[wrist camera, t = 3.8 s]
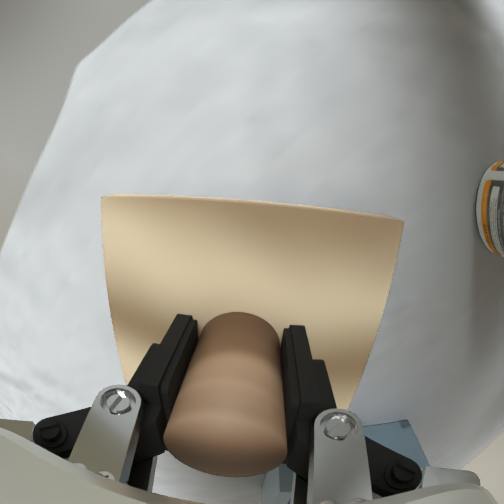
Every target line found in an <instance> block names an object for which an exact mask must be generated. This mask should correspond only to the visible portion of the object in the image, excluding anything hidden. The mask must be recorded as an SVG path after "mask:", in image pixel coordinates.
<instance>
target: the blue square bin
mask: <svg viewBox="0 0 504 504" xmlns="http://www.w3.org/2000/svg"><path fill="white" fill-rule="evenodd" d="M363 431H364V436H366V437H368V438H370V439H372V440H373V441H375V442H377V443H379V444H381V445H383V446H385V447H387V448H389V449H391V450H393V451H395V452H397V453H399V454H401V455H403V456H405V457H408V458H410V459H412V460H413V461H415V462H416V463H417V464H418V465H419V467H420V468H424V467H425V466H430V465H429V463H428V461H427V459H426V456H425V454H424V452H423V450H422V448H421V446H420V444H419V442H418V440H417V438H416V436H415V434H414V432H413V430H412V428H411V426H410V424H409V422H408V420H404V421H398V422H392V423H386V424H380V425H372V426H365V427H363ZM293 473H294V472H293V471H292V470H291V469H289V468H288V467H287V466H286V464H280V465H279V466H278V467H276V468H275V469H273V470H271V471H269V472H266V475H265V478H264V482H263V485H262V496H261V504H290V502H291V493H292V483H293Z"/></svg>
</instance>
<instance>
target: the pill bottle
mask: <svg viewBox="0 0 504 504" xmlns="http://www.w3.org/2000/svg"><path fill="white" fill-rule="evenodd" d="M476 216H477V223H478V229H479V233H480V236H481V238H482V240H483V242H484V244H485V245H486V247H487V248H488V249H489V250H490V251H491V252H493V253H494V254H496V255H498V256H501V257H503V258H504V161H499V162H496V163H494V164H493V165H491V166H490V167H489V168H488V169H487V170H486V172H485V173H484V175H483V177H482V180H481V182H480V186H479V189H478V195H477V203H476Z"/></svg>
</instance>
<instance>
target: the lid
mask: <svg viewBox="0 0 504 504" xmlns="http://www.w3.org/2000/svg"><path fill="white" fill-rule="evenodd" d="M101 214H102V238H103V253H104V265H105V275H106V283H107V291H108V299H109V306H110V312H111V318H112V324H113V330H114V335H115V340H116V345H117V350H118V354H119V359H120V363H121V367H122V371H123V375H124V379H125V383H126V386H127V385H128V383H129V382H130V380H131V378H132V376H133V375H134V373H135V371H136V370H137V368H138V366H139V365H140V363H141V361H142V359H143V358H144V356H145V354H146V353H147V351H148V349H149V348H150V346H151V345H152V344H153V343H157V344H160V343H161V341H162V340H163V338H164V336H165V334H166V332H167V331H168V329H169V327H170V325H171V324H172V322H173V320H174V318H175V317H176V315H177V314H185V315H192V316H193V319H195V320H197V322H198V342H197V344H196V347H195V350H194V352H193V355H192V358H191V360H190V363H189V366H188V369H187V371H186V374H185V377H184V379H183V382H182V385H181V388H180V390H179V393H178V396H177V399H176V402H175V404H174V407H173V410H172V413H171V415H170V418H169V421H168V424H167V427H166V430H165V432H164V437H163V439H164V444H165V446H166V448H167V449H168V451H169V452H170V453H171V454H172V455H173V456H174V457H175V458H176V459H178V460H179V461H181V462H182V463H184V464H185V465H187V466H189V467H191V468H194V469H196V470H199V471H202V472H205V473H209V474H213V475H218V476H226V477H248V476H255V475H259V474H263V473H266V472H269V471H271V470H273V469H275V468H276V467H278V466H279V465H280V464H282V463H283V461H284V460H285V458H286V456H287V438H286V424H285V407H284V392H283V377H282V363H281V350H280V348H281V342H282V336H283V330H284V328H289V326H290V325H304V326H305V328H306V333H307V337H308V341H309V346H310V350H311V354H312V359H323V360H324V362H325V365H326V369H327V372H328V376H329V380H330V383H331V387H332V391H333V395H334V398H335V402H336V406H337V408H338V409H345V410H348V408H349V405H350V403H351V401H352V398H353V396H354V394H355V391H356V389H357V387H358V384H359V382H360V379H361V377H362V374H363V371H364V369H365V366H366V364H367V361H368V358H369V355H370V352H371V350H372V347H373V344H374V341H375V338H376V335H377V332H378V328H379V325H380V322H381V319H382V315H383V312H384V308H385V305H386V301H387V298H388V294H389V290H390V286H391V282H392V278H393V274H394V270H395V265H396V261H397V256H398V251H399V246H400V241H401V235H402V230H403V224H404V222H403V221H401V220H398V219H396V218H393V217H391V216H385V215H379V214H372V213H365V212H357V211H350V210H342V209H334V208H326V207H317V206H308V205H299V204H289V203H279V202H268V201H256V200H243V199H230V198H215V197H197V196H176V195H148V194H114V195H109V196H104V197H101Z"/></svg>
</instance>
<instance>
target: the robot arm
mask: <svg viewBox="0 0 504 504" xmlns="http://www.w3.org/2000/svg"><path fill="white" fill-rule="evenodd" d="M197 342H198V322H197V320H195V319H193V316H192V315H185V314H177V315H176V317H175V318H174V320H173V322H172V324H171V325H170V327H169V329H168V331H167V332H166V334H165V336H164V338H163V340H162V341H161V343H160V344H157V343H153V344H152V345H151V346H150V348H149V349H148V351H147V353H146V354H145V356H144V358H143V359H142V361H141V363H140V365H139V366H138V368H137V370H136V371H135V373H134V375H133V376H132V378H131V380H130V382H129V383H128V385H127V386H125V385H113V386H109V387H106V388H104V389H103V390H101V391H100V392H99V393H98V395H97V396H96V398H95V400H94V403H93V405H92V407H89V408H85V409H81V410H78V411H74V412H70V413H66V414H62V415H58V416H53V417H49V418H46V419H43V420H41V421H40V422H38V423H37V424H36V425H35V424H34V423H33V421H18V420H7V419H0V504H204V503H197V502H192V501H186V500H181V499H177V498H172V497H168V496H164V495H160V494H156V493H152V488H153V482H154V476H155V470H156V464H157V455H160V454H162V453H164V452H165V450H167V451H168V449H167V448H166V446H165V444H164V439H163V437H164V432H165V430H166V427H167V424H168V421H169V418H170V415H171V413H172V410H173V407H174V404H175V402H176V399H177V396H178V393H179V390H180V388H181V385H182V382H183V379H184V377H185V374H186V371H187V369H188V366H189V363H190V360H191V358H192V355H193V352H194V350H195V347H196V344H197ZM280 350H281V363H282V377H283V392H284V407H285V424H286V438H287V456H286V458H285V460H284V461H283V463H282V464H286V466H287V467H288V468H289V469H291V470H292V471H293V472H294V473H293V483H292V493H291V502H290V504H497V502H496V500H495V499H494V497H493V496H492V495H491V493H490V492H489V491H488V490H487V489H485V488H484V487H482V486H480V479H479V478H478V476H477V475H476V474H475V473H474V472H471V471H466V470H454V469H445V468H437V467H430V466H425V467H424V468H420V467H419V465H418V464H417V463H416V462H415V461H413V460H412V459H410V458H408V457H405V456H403V455H401V454H399V453H397V452H395V451H393V450H391V449H389V448H387V447H385V446H383V445H381V444H379V443H377V442H375V441H373V440H372V439H370V438H368V437H366V436H364V431H363V425H362V423H361V420H360V419H359V418H358V417H357V416H356V415H355V414H354V413H352V412H350V411H347V410H345V409H338V408H337V406H336V402H335V398H334V395H333V391H332V387H331V383H330V380H329V376H328V372H327V369H326V365H325V362H324V360H323V359H312V354H311V350H310V346H309V341H308V337H307V333H306V328H305V326H304V325H290V326H289V328H284V330H283V336H282V342H281V348H280Z"/></svg>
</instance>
